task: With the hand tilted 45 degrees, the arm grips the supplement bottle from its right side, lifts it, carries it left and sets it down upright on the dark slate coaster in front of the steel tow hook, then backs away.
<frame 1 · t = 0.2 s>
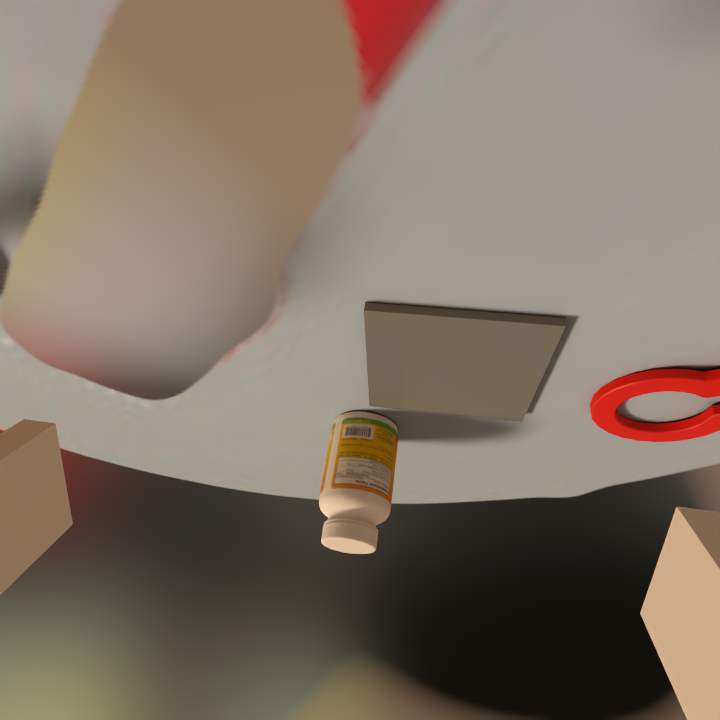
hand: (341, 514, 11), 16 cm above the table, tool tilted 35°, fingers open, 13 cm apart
tow hook: (667, 396, 34), on the table
coaster: (452, 364, 33), on the table
supplement bottle: (366, 423, 42), on the table
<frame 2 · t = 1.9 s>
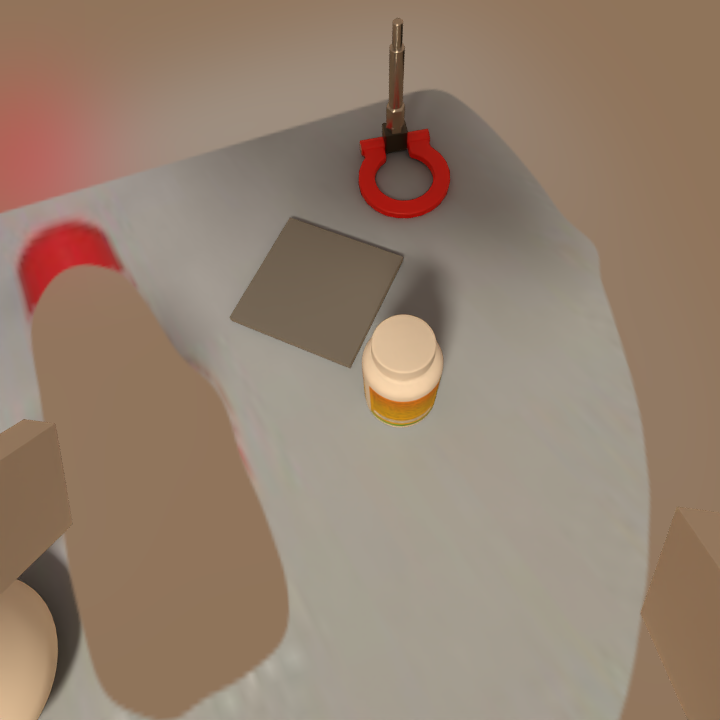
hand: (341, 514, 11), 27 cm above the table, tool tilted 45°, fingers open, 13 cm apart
tow hook: (402, 180, 49), on the table
coaster: (318, 290, 44), on the table
flower in vase: (0, 666, 34), on the table
supplement bottle: (400, 395, 40), on the table
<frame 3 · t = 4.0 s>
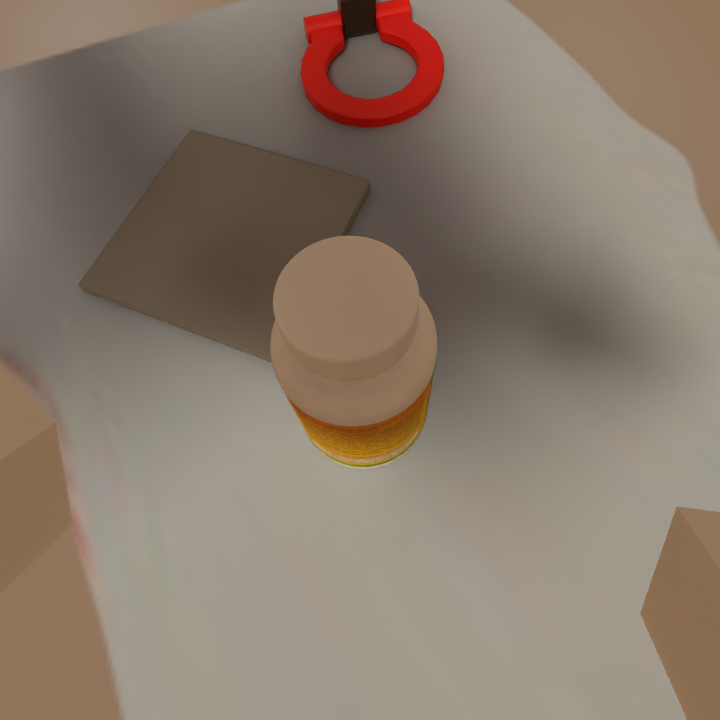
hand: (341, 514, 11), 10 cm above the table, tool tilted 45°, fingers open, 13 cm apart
tow hook: (371, 75, 32), on the table
coaster: (231, 238, 27), on the table
supplement bottle: (364, 410, 23), on the table
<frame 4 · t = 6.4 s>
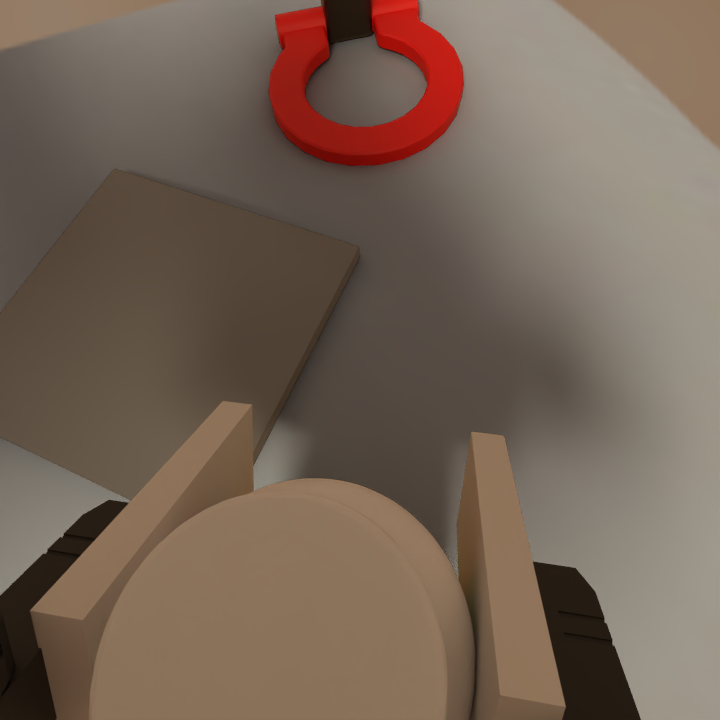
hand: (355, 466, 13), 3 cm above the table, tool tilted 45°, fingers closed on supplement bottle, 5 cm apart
tow hook: (364, 93, 24), on the table
coaster: (160, 329, 19), on the table
supplement bottle: (344, 623, 15), on the table, touching gripper
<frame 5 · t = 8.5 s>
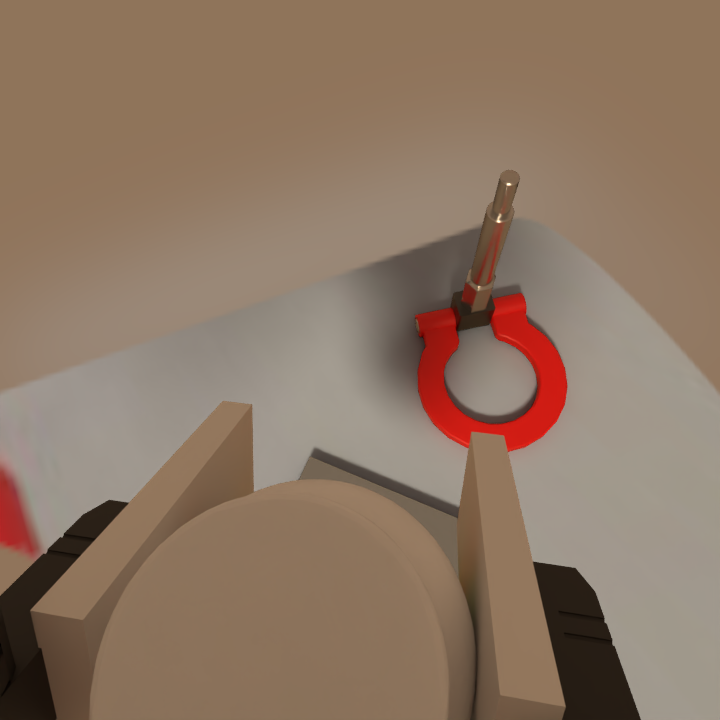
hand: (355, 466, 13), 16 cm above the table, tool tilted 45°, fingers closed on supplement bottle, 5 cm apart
tow hook: (486, 377, 31), on the table
coaster: (362, 600, 26), on the table
supplement bottle: (345, 624, 15), point 12 cm above the table, touching gripper
when the fingers open (5 cm above the table, at t = 10.9 s): supplement bottle drops 1 cm, resting on coaster.
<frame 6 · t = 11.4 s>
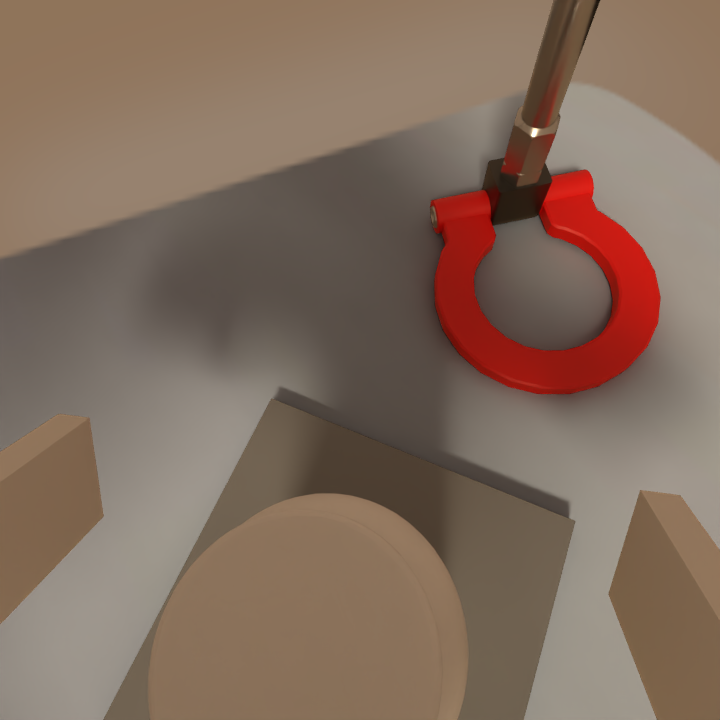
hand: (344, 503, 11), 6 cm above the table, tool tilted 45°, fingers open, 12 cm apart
tow hook: (535, 290, 21), on the table
coaster: (349, 619, 16), on the table
supplement bottle: (351, 621, 16), resting on coaster
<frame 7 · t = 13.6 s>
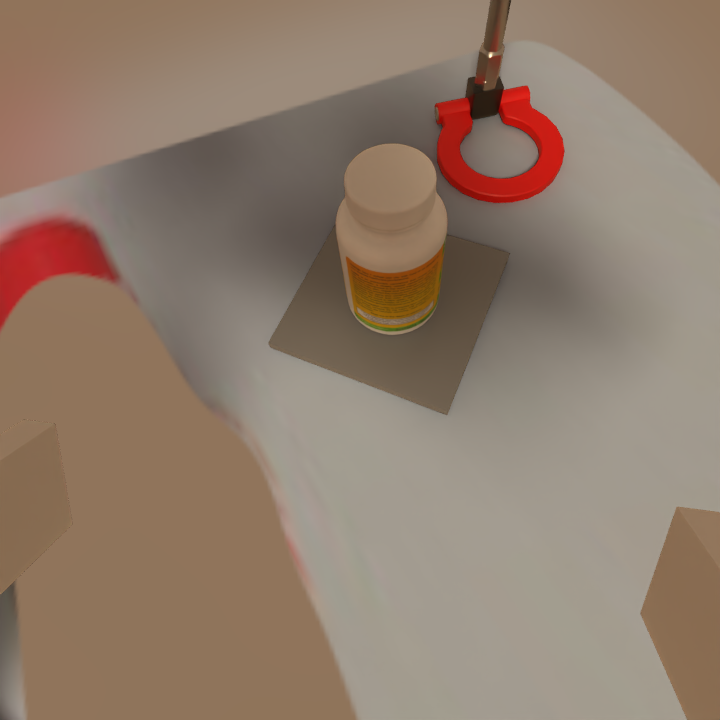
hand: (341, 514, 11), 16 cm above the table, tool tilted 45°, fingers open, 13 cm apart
tow hook: (495, 154, 36), on the table
coaster: (392, 302, 31), on the table
supplement bottle: (393, 299, 31), resting on coaster
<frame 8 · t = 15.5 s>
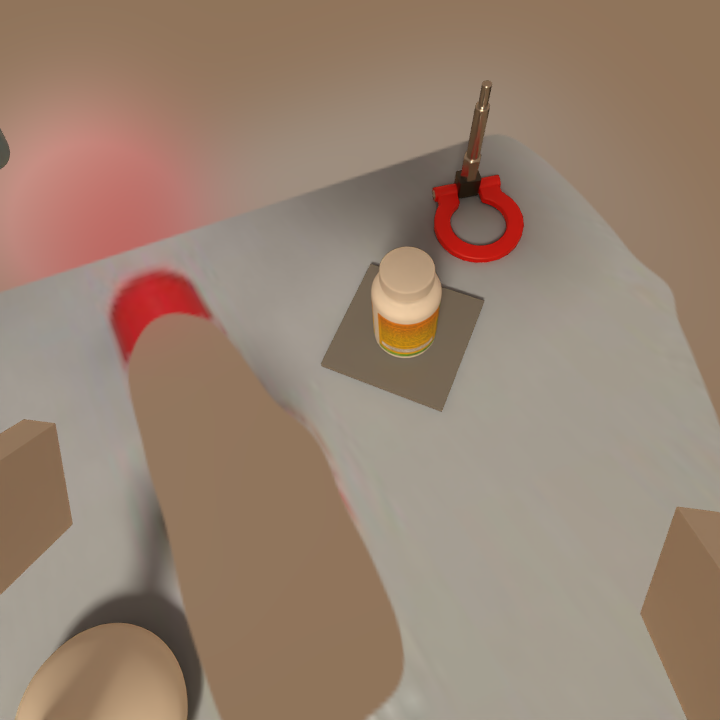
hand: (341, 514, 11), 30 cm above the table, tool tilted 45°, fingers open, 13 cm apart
tow hook: (476, 225, 51), on the table
coaster: (403, 334, 46), on the table
flower in vase: (127, 712, 36), on the table
supplement bottle: (404, 332, 46), resting on coaster
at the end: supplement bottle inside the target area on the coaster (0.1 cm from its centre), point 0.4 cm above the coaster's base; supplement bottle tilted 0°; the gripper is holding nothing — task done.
